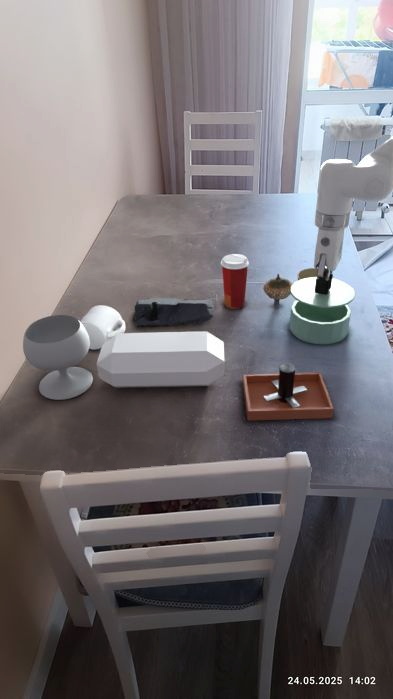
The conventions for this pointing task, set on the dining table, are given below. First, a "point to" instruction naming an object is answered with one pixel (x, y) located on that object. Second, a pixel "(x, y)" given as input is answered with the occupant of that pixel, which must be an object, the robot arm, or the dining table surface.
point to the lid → (335, 297)
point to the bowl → (319, 323)
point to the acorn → (277, 289)
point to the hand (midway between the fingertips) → (322, 290)
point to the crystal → (161, 359)
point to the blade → (286, 387)
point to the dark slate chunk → (172, 311)
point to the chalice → (58, 355)
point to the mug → (102, 325)
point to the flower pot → (308, 273)
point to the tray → (310, 402)
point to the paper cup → (234, 279)
